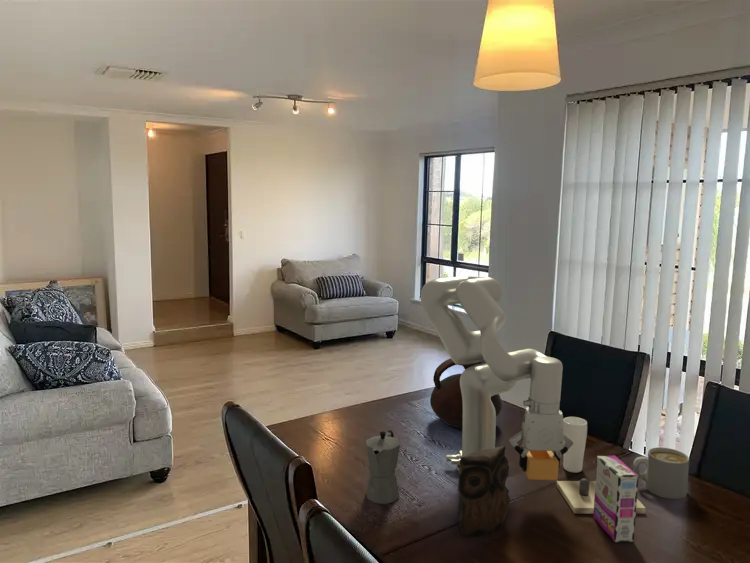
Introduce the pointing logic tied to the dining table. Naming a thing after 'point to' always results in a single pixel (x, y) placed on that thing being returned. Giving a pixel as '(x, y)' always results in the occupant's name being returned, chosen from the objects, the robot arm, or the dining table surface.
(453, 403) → the jug
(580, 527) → the dining table surface
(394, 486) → the coffeepot
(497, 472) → the owl
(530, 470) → the small open box
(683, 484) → the coffee mug
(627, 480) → the candy bar box
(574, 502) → the board
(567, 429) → the drinking glass
